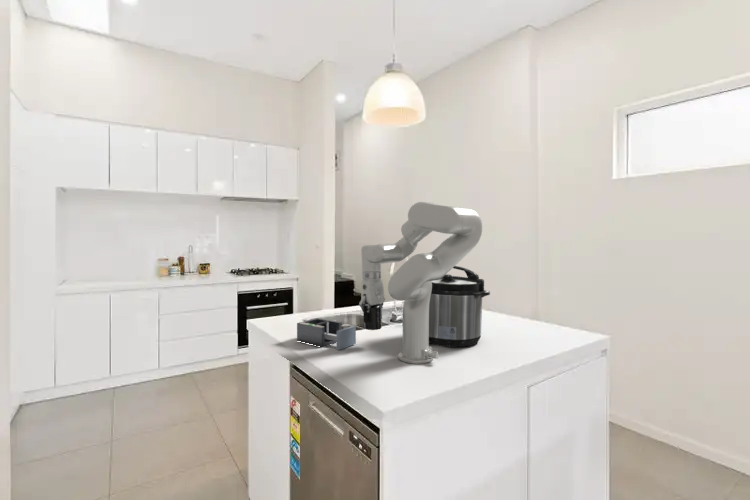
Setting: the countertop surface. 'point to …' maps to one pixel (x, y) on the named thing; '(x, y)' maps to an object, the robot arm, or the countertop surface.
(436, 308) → the pressure cooker
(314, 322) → the box
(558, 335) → the countertop surface
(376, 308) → the supplement bottle
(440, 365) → the countertop surface
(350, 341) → the gauge plunger
